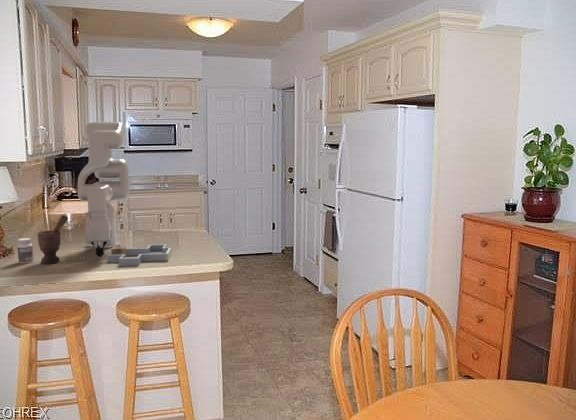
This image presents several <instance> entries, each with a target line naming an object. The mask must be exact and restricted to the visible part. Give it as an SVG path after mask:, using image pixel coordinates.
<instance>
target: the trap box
mask: <svg viewBox="0 0 576 420" xmlns="http://www.w3.org/2000/svg"><path fill="white" fill-rule="evenodd" d="M172 253H173V251H172V247H170V246H169V247H168V244H148V245H147V247H134V248H133V247H132V248H130V247H129V248H126V256H136V257H126V258H125V254H121V255H111V254H108V255H107V261H108V263H118V267H129V266H134V267H135V266H140V265H141V264H142V262H164V261H165V262H168V261H169V260H170V257H171V256H172Z"/></svg>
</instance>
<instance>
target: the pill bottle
mask: <svg viewBox="0 0 576 420" xmlns="http://www.w3.org/2000/svg"><path fill="white" fill-rule="evenodd" d="M17 241H18V245H17V255H18V257H17V259H18V263H20V264H30V263H33V262H34V259H35V258H34V247H33V246H34V245H33V243H31V241H32V239H31V238H30V237H28V238H27V237H24V238H23V237H22V238H19V239H18V240H17Z"/></svg>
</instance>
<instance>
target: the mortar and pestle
mask: <svg viewBox="0 0 576 420" xmlns="http://www.w3.org/2000/svg"><path fill="white" fill-rule="evenodd" d="M68 219H69V217H68V216H67V215H64V214H63V215H61V216H60V218H59V219H58V221H57V223H56V226H55V227H54V228H53V229H52V230H51V229H50V230H42V231H38V232H37V241H38V243H37V244H38V247H39V249H40V251H41V252H42V253H43V257H42V258H41V260H40V264H42V265H43V264H44V265H50V264H56V263H59V262H61V260H60V257H59V256H58V255H57V252H58V251H59V249H60V245H61V231H60V230H61V229H62V228H63V226H64V225H65V224H66V223H67V221H68Z"/></svg>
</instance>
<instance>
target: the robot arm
mask: <svg viewBox="0 0 576 420" xmlns="http://www.w3.org/2000/svg"><path fill="white" fill-rule="evenodd" d="M85 134H86V137H87V140H88V163H86V165H85V166H83V168H82V170H81V171H80V173H79V174H78V178H77V195H78V196H77V197H78V199H79V200H80V201H81V202H87V212H84V216H87V218H86V220H85V230H84V231H85V233H84V234H85V243H86V244H89V245H92V247H93V248H95V255H96V257H97V258H102V257H103V256H104V254H105V252H104V251H105V250H104V249H109V248H110V249H112V248H113V247H116V246H121V243H120V241H117V224H116V223H117V222H116V210H115V207H114V206H113V204H111V203H110V202H118V201H119V202H120V201H127V200H129V198H130V175H129V171H130V170H129V164H128V162H127V160H125V159H123V158H113V149H115V150H118V149H121V148H122V146H123V144H124V136H125V128H124V125H123V123H121V121H91V122H88V123H86V125H85ZM93 173H94V177H95V178H97V179H99V180H100V179H101V180H102V179H103V180H104V179H105V181H101V180H100V181H96V182H94V183H92V184H86V180H87V178H88V177H89V176H90V175H91V174H93ZM107 179H108V181H107ZM113 179H116V181H115V180H113ZM110 180H111V181H110ZM112 180H113V181H112ZM117 180H119V181H117Z"/></svg>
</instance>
